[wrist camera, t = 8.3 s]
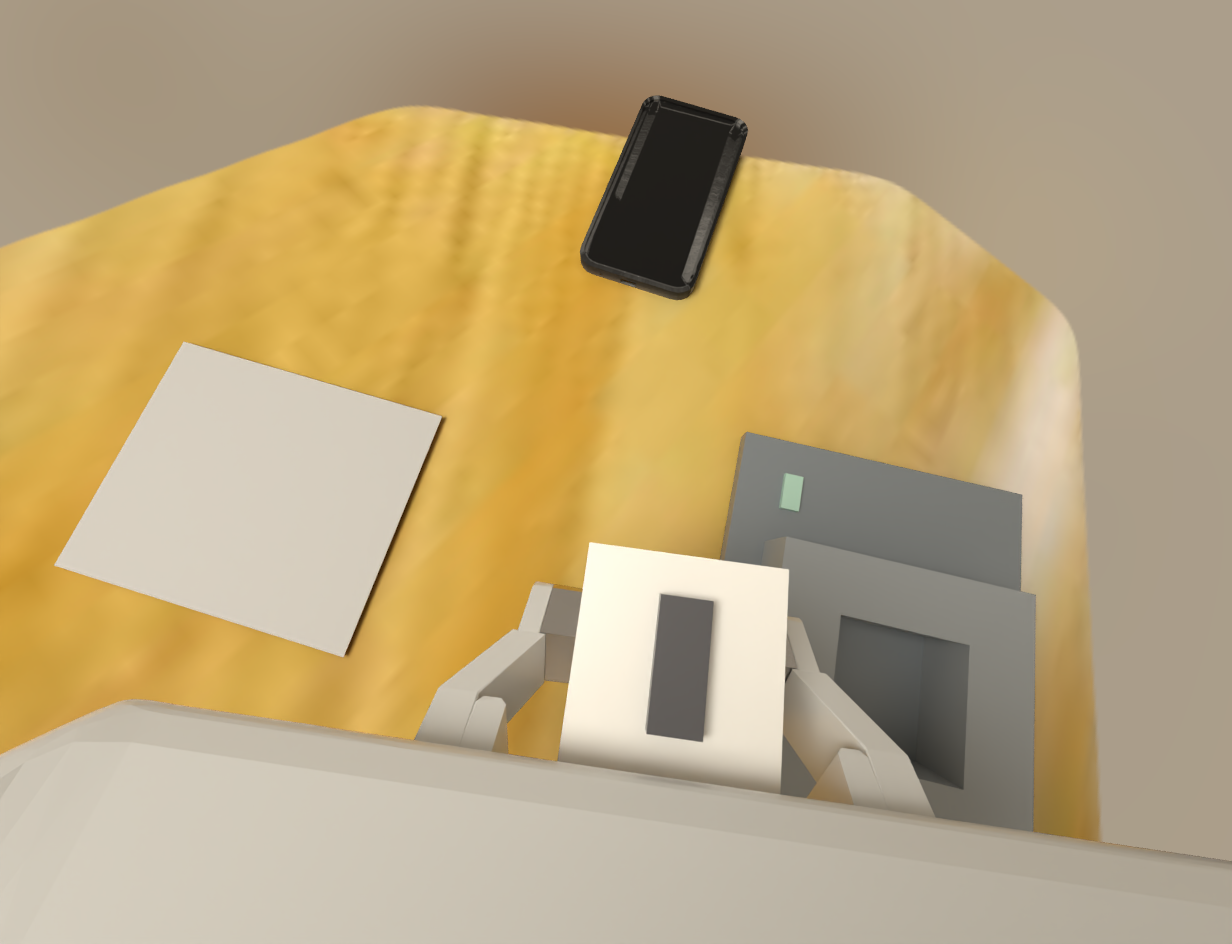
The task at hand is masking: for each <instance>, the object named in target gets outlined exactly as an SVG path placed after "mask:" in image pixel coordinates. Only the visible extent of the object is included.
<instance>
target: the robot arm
mask: <svg viewBox="0 0 1232 944" xmlns="http://www.w3.org/2000/svg"><path fill="white" fill-rule="evenodd" d="M582 591H583V589H582V588H576V587H569V586H563V585H557V584H549V583H543V582H537V581H536V582H535V584H534V585H533V588H532V590H531V593H530V596H529V599H528V602H527V605H526V608H525V611H524V614H523V617H522V620H521V623H520V626H519V628H518V630H515V629H512V630H511V631H510V632H508V633H507V634H506V635H505V636H503V637H502V638H501V639H500V640H498V641H497V642H496V643H494V644H493V645H492V646H491V647H489V648H488V649H487V650H486V651H484V652H483V653H482V654H481V655H479V656H478V657H477V658H475V659H474V660H473V661H472V662H470V663H469V664H468V665H467V666H465V667H464V668H463V669H461V670H460V671H459V672H458V673H456V674H455V675H454V676H453V677H451V678H450V679H449V680H447V681H446V682H445V683H444V684H442V685H441V686H440V687H439V688H438V690H437V692H436V695H435V697H434V699H433V701H432V703H431V705H430V707H429V709H428V711H427V714H426V716H425V718H424V720H423V722H422V724H421V726H420V728H419V731H418V733H417V735H416V737H415V739H414V740H410V739H403V738H397V737H390V736H383V735H377V734H370V733H363V732H356V731H350V730H343V729H336V728H330V727H323V726H316V725H310V724H303V723H296V722H290V721H283V720H276V719H269V718H263V717H256V716H249V715H243V714H236V713H229V712H222V711H216V710H209V709H202V708H196V707H189V706H182V705H176V704H170V703H164V702H157V701H151V700H142V699H131V700H124V701H120V702H117V703H114V704H111V705H109V706H106V707H104V708H101V709H98V710H96V711H93V712H91V713H89V714H87V715H85V716H82V717H80V718H78V719H76V720H73V721H71V722H69V723H67V724H64V725H62V726H60V727H58V728H56V729H53V730H51V731H49V732H47V733H45V734H43V735H41V736H38V737H36V738H34V739H32V740H30V741H28V742H26V743H23V744H21V745H19V746H17V747H15V748H13V749H11V750H9V751H7V752H5V753H3V754H1V755H0V944H1232V861H1226V860H1220V859H1213V858H1206V857H1200V856H1193V855H1186V854H1179V853H1172V852H1166V851H1158V850H1151V849H1145V848H1139V847H1131V846H1125V845H1118V844H1112V843H1105V842H1098V841H1091V840H1085V839H1078V838H1071V837H1064V836H1058V835H1051V834H1044V833H1037V832H1031V831H1024V830H1017V829H1010V828H1004V827H997V826H990V825H983V824H977V823H970V822H963V821H956V820H950V819H943V818H936V817H935V815H934V813H933V811H932V808H931V806H930V804H929V802H928V799H927V797H926V795H925V793H924V791H923V788H922V786H921V784H920V782H919V779H918V777H917V775H916V773H915V770H914V768H913V766H912V764H911V762H910V759H909V757H908V756H907V755H906V754H905V753H904V752H903V751H902V750H901V749H900V748H899V747H898V746H897V744H896V743H895V742H894V741H893V740H892V739H891V738H890V737H889V736H888V735H887V734H886V733H885V732H884V731H883V730H882V729H881V728H880V727H879V726H878V725H877V724H876V723H875V722H874V721H873V720H872V719H871V718H870V717H869V716H868V715H867V714H866V713H865V712H864V711H863V710H862V709H861V708H860V707H859V706H858V705H857V704H856V703H855V702H854V701H853V700H852V699H851V698H850V697H849V696H848V695H847V694H846V693H845V692H844V691H843V690H842V689H841V688H840V687H839V686H838V685H837V684H836V683H835V682H834V681H833V680H832V679H831V678H830V677H829V676H828V675H827V674H825V673H820V671H819V668H818V665H817V662H816V659H815V657H814V654H813V651H812V648H811V645H810V642H809V639H808V637H807V634H806V631H805V628H804V625H803V622H802V621H801V619H800V618H796V617H788V616H787V635H786V661H785V687H784V712H783V734H784V736H785V737H786V739H787V740H788V742H789V743H790V745H791V746H792V748H793V749H794V750H795V752H796V753H797V755H798V756H799V758H800V759H801V761H802V762H803V764H804V765H805V766H806V768H807V769H808V771H809V772H810V774H811V775H812V777H813V778H814V780H815V781H816V785H815V786H814V788H813V789H812V791H811V792H810V794H809V795H808V796H807V798H801V797H795V796H788V795H781V794H774V793H768V792H761V791H754V790H747V789H741V788H734V787H727V786H720V785H714V784H707V783H700V782H693V781H687V780H680V779H673V778H666V777H659V776H653V775H646V774H639V773H632V772H625V771H619V770H612V769H605V768H598V767H592V766H585V765H578V764H571V763H565V762H558V761H551V760H545V759H538V758H531V757H524V756H518V755H511V754H508V737H507V723H508V722H509V721H510V720H511V719H512V717H513V716H514V715H515V714H516V713H517V712H518V711H519V710H520V709H521V708H522V706H523V705H524V704H525V703H526V702H527V701H528V700H529V699H530V698H531V696H532V695H533V694H534V693H535V692H536V691H537V690H538V689H539V688H540V686H541V685H542V684H543V683H544V680H546V681H555V682H564V683H569V680H570V673H571V666H572V659H573V652H574V646H575V639H576V632H577V625H578V618H579V612H580V605H581V598H582Z"/></svg>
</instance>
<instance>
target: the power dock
mask: <svg viewBox="0 0 1232 944" xmlns="http://www.w3.org/2000/svg"><path fill="white" fill-rule="evenodd" d="M1021 534H1022V495H1021V494H1017V493H1012V492H1008V491H1003V490H999V489H995V488H990V487H986V486H981V485H977V484H973V483H968V482H964V481H960V480H955V479H951V478H946V477H942V476H938V475H933V474H929V473H924V472H920V471H916V470H911V469H907V468H903V467H898V466H894V465H889V464H885V463H881V462H876V461H872V460H867V459H863V458H859V457H854V456H850V455H846V454H841V453H837V452H832V451H828V450H824V449H819V448H815V447H810V446H806V445H802V444H797V443H793V442H788V441H784V440H780V439H775V438H771V437H767V436H762V435H758V434H753V433H749V432H746V433H745V434H744V435H743V436H742V437H741V442H740V448H739V453H738V459H737V465H736V470H735V476H734V482H733V488H732V493H731V499H730V505H729V510H728V516H727V522H726V527H725V533H724V539H723V545H722V550H721V556H720V560H723V561H730V562H738V563H745V564H753V565H760V566H767V567H775V568H782V569H789V584H788V610H787V616H788V617H796V618H800V619H801V621H802V622H803V625H804V628H805V631H806V634H807V637H808V639H809V642H810V645H811V648H812V651H813V654H814V657H815V659H816V662H817V665H818V668H819V671H820V673H825V674H827V675H828V676H829V677H830V678H831V679H832V680H833V681H834V682H835V683H836V684H837V685H838V686H839V687H840V688H841V689H842V690H843V691H844V692H845V693H846V694H847V695H848V696H849V697H850V698H851V699H852V700H853V701H854V702H855V703H856V704H857V705H858V706H859V707H860V708H861V709H862V710H863V711H864V712H865V713H866V714H867V715H868V716H869V717H870V718H871V719H872V720H873V721H874V722H875V723H876V724H877V725H878V726H879V727H880V728H881V729H882V730H883V731H884V732H885V733H886V734H887V735H888V736H889V737H890V738H891V739H892V740H893V741H894V742H895V743H896V744H897V746H898V747H899V748H900V749H901V750H902V751H903V752H904V753H905V754H906V755H907V756H908V757H909V759H910V762H911V764H912V766H913V768H914V770H915V773H916V775H917V777H918V779H919V782H920V784H921V786H922V788H923V791H924V793H925V795H926V797H927V799H928V802H929V804H930V806H931V808H932V811H933V813H934V815H935V817H936V818H943V819H950V820H956V821H963V822H970V823H977V824H983V825H990V826H997V827H1004V828H1010V829H1017V830H1024V831H1031V832H1033V804H1034V709H1035V614H1036V595H1034V594H1029V593H1025V592H1021V591H1020V588H1021ZM815 785H816V781H815V780H814V778H813V777H812V775H811V774H810V772H809V771H808V769H807V768H806V766H805V765H804V764H803V762H802V761H801V759H800V758H799V756H798V755H797V753H796V752H795V750H794V749H793V748H792V746H791V745H790V743H789V742H788V740H787V739H786V737H785V736H784V734H783V738H782V764H781V789H780V794H781V795H788V796H795V797H801V798H807V796H808V795H809V794H810V792H811V791H812V789H813V788H814V786H815Z"/></svg>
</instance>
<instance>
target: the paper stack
mask: <svg viewBox="0 0 1232 944" xmlns="http://www.w3.org/2000/svg"><path fill="white" fill-rule="evenodd" d="M441 418H442V416H439V415H435V414H432V413H429V412H425V411H422V410H418V409H415V408H411V407H408V406H404V405H401V404H397V403H394V402H391V401H387V400H384V399H380V398H377V397H373V396H370V395H366V394H363V393H359V392H356V391H353V390H349V389H346V388H342V387H339V386H335V385H332V384H328V383H325V382H321V381H318V380H315V379H311V378H308V377H304V376H301V375H297V374H294V373H290V372H287V371H283V370H280V369H277V368H273V367H270V366H266V365H263V364H259V363H256V362H252V361H249V360H245V359H242V358H239V357H235V356H232V355H228V354H225V353H221V352H218V351H214V350H211V349H207V348H204V347H201V346H197V345H194V344H190V343H187V342H183V344H182V346H181V347H180V349H179V351H178V352H177V354H176V356H175V358H174V359H173V361H172V363H171V365H170V366H169V368H168V370H167V371H166V373H165V375H164V377H163V378H162V380H161V382H160V384H159V385H158V387H157V389H156V390H155V392H154V394H153V396H152V397H151V399H150V401H149V403H148V404H147V406H146V408H145V409H144V411H143V413H142V415H141V416H140V418H139V420H138V422H137V423H136V425H135V427H134V428H133V430H132V432H131V434H130V435H129V437H128V439H127V441H126V442H125V444H124V446H123V447H122V449H121V451H120V453H119V454H118V456H117V458H116V460H115V461H114V463H113V465H112V466H111V468H110V470H109V472H108V473H107V475H106V477H105V479H104V480H103V482H102V484H101V485H100V487H99V489H98V491H97V492H96V494H95V496H94V498H93V499H92V501H91V503H90V504H89V506H88V508H87V510H86V511H85V513H84V515H83V517H82V518H81V520H80V522H79V523H78V525H77V527H76V529H75V530H74V532H73V534H72V536H71V537H70V539H69V541H68V542H67V544H66V546H65V548H64V549H63V551H62V553H61V555H60V556H59V558H58V560H57V561H56V563H55V565H54V566H58V567H61V568H64V569H67V570H70V571H73V572H76V573H80V574H83V575H86V576H89V577H92V578H95V579H98V580H102V581H105V582H108V583H111V584H114V585H117V586H121V587H124V588H127V589H130V590H133V591H136V592H139V593H143V594H146V595H149V596H152V597H155V598H158V599H161V600H165V601H168V602H171V603H174V604H177V605H180V606H183V607H187V608H190V609H193V610H196V611H199V612H202V613H206V614H209V615H212V616H215V617H218V618H221V619H224V620H228V621H231V622H234V623H237V624H240V625H243V626H246V627H250V628H253V629H256V630H259V631H262V632H265V633H268V634H272V635H275V636H278V637H281V638H284V639H287V640H291V641H294V642H297V643H300V644H303V645H306V646H309V647H313V648H316V649H319V650H322V651H325V652H328V653H331V654H335V655H338V656H341V657H344V655H345V653H346V650H347V648H348V645H349V643H350V640H351V638H352V635H353V633H354V631H355V628H356V626H357V623H358V621H359V618H360V616H361V614H362V611H363V609H364V606H365V604H366V601H367V599H368V596H369V594H370V592H371V589H372V587H373V584H374V582H375V579H376V577H377V574H378V572H379V570H380V567H381V565H382V562H383V560H384V557H385V555H386V553H387V550H388V548H389V545H390V543H391V540H392V538H393V535H394V533H395V531H396V528H397V526H398V523H399V521H400V518H401V516H402V513H403V511H404V509H405V506H406V504H407V501H408V499H409V496H410V494H411V492H412V489H413V487H414V484H415V482H416V479H417V477H418V474H419V472H420V470H421V467H422V465H423V462H424V460H425V457H426V455H427V452H428V450H429V448H430V445H431V443H432V440H433V438H434V435H435V433H436V431H437V428H438V426H439V423H440V421H441Z"/></svg>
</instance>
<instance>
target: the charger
mask: <svg viewBox="0 0 1232 944" xmlns="http://www.w3.org/2000/svg"><path fill="white" fill-rule="evenodd" d="M788 584H789V569H782V568H775V567H767V566H760V565H753V564H745V563H738V562H730V561H723V560H716V559H708V558H701V557H694V556H686V555H679V554H672V553H664V552H657V551H650V550H642V549H635V548H628V547H620V546H613V545H605V544H598V543H591V542H590V544H589V550H588V557H587V564H586V571H585V578H584V584H583V591H582V598H581V605H580V612H579V618H578V625H577V632H576V639H575V646H574V652H573V659H572V666H571V673H570V680H569V686H568V693H567V700H566V707H565V714H564V721H563V727H562V734H561V741H560V748H559V755H558V762H565V763H571V764H578V765H585V766H592V767H598V768H605V769H612V770H619V771H625V772H632V773H639V774H646V775H653V776H659V777H666V778H673V779H680V780H687V781H693V782H700V783H707V784H714V785H720V786H727V787H734V788H741V789H747V790H754V791H761V792H768V793H774V794H780V789H781V764H782V738H783V712H784V687H785V661H786V635H787V610H788Z"/></svg>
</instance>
